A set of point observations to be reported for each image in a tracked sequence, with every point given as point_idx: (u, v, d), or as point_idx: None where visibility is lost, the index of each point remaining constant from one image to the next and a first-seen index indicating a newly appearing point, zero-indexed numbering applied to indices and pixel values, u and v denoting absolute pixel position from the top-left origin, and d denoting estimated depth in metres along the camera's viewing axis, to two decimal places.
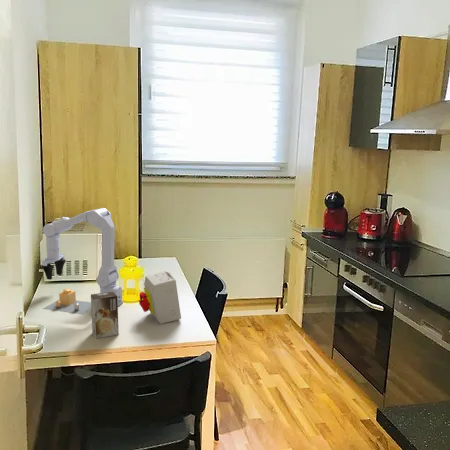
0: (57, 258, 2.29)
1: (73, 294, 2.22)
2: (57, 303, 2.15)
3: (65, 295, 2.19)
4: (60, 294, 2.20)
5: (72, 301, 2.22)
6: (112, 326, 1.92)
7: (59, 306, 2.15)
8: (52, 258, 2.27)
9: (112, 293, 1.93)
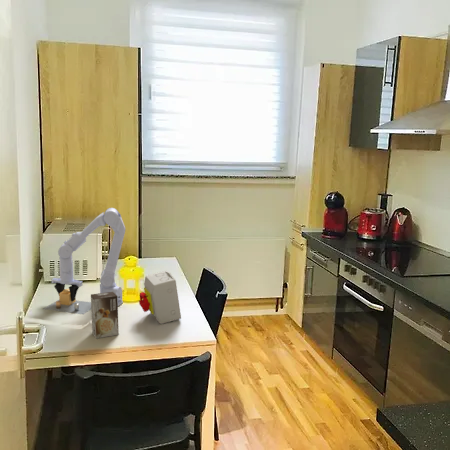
0: (61, 281, 2.18)
1: None
2: (57, 303, 2.15)
3: (65, 295, 2.19)
4: (60, 294, 2.20)
5: (72, 301, 2.22)
6: (112, 326, 1.92)
7: (59, 306, 2.15)
8: (60, 279, 2.20)
9: (112, 293, 1.93)
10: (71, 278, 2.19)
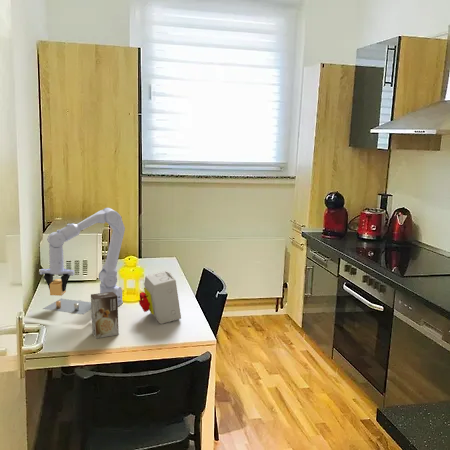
0: (52, 271, 2.10)
1: None
2: (57, 303, 2.15)
3: (56, 285, 2.12)
4: (51, 285, 2.12)
5: (63, 291, 2.15)
6: (112, 326, 1.92)
7: (59, 306, 2.15)
8: (49, 269, 2.12)
9: (112, 293, 1.93)
10: (62, 267, 2.12)
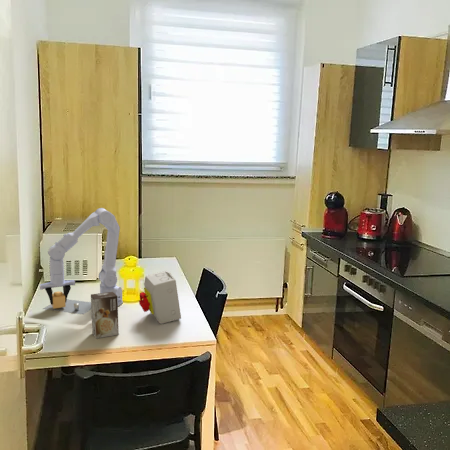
0: (56, 284, 2.11)
1: None
2: None
3: (60, 297, 2.13)
4: (54, 298, 2.12)
5: None
6: (112, 326, 1.92)
7: None
8: (51, 283, 2.12)
9: (112, 293, 1.93)
10: None
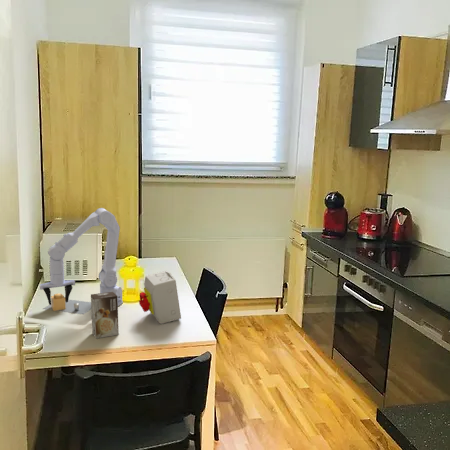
0: (56, 284, 2.11)
1: None
2: None
3: (60, 300, 2.14)
4: (54, 300, 2.12)
5: None
6: (112, 326, 1.92)
7: None
8: (51, 283, 2.12)
9: (112, 293, 1.93)
10: None
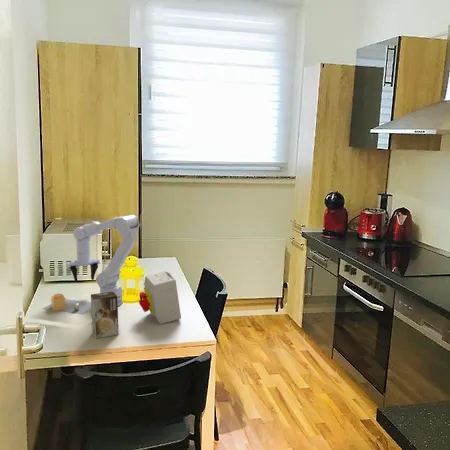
0: (83, 262, 2.25)
1: None
2: None
3: (60, 300, 2.14)
4: (54, 300, 2.12)
5: None
6: (112, 326, 1.92)
7: None
8: (78, 261, 2.26)
9: (112, 293, 1.93)
10: (89, 258, 2.29)
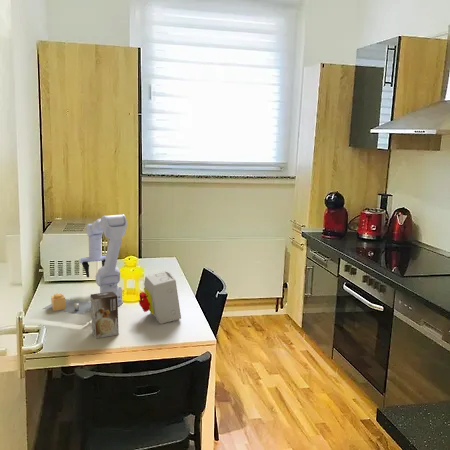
0: (95, 258, 2.33)
1: None
2: None
3: (60, 300, 2.14)
4: (54, 300, 2.12)
5: None
6: (112, 326, 1.92)
7: None
8: (90, 257, 2.33)
9: (112, 293, 1.93)
10: None
